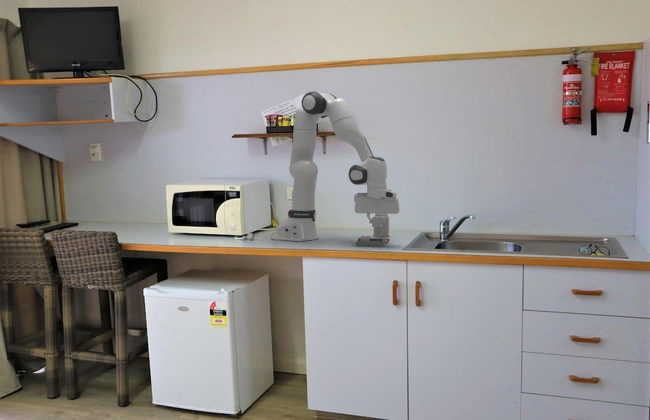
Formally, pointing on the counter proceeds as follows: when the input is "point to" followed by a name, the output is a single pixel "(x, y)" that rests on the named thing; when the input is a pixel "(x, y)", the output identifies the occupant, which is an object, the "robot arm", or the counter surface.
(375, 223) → the stone
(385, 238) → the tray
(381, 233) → the can
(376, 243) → the bin
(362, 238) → the stone
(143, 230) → the counter surface
